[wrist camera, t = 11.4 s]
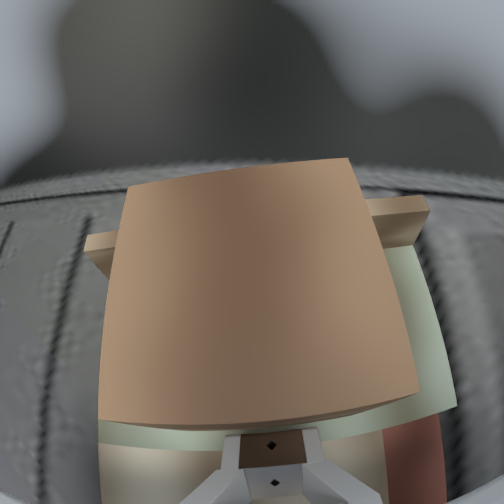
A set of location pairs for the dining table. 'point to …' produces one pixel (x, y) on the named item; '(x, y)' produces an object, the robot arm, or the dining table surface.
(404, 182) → the dining table surface
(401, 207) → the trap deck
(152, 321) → the walnut block
